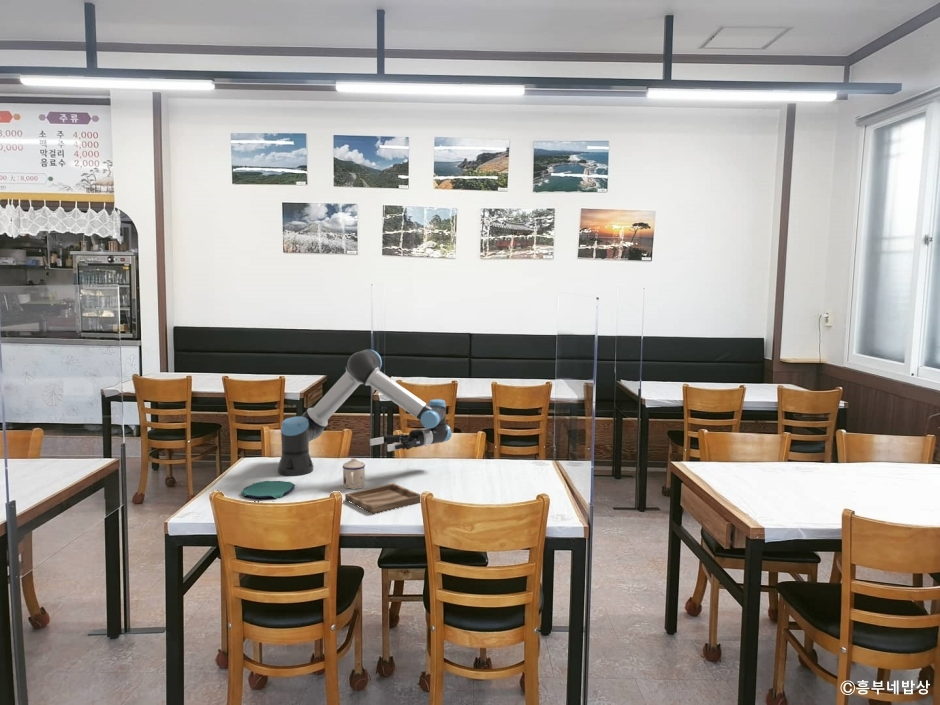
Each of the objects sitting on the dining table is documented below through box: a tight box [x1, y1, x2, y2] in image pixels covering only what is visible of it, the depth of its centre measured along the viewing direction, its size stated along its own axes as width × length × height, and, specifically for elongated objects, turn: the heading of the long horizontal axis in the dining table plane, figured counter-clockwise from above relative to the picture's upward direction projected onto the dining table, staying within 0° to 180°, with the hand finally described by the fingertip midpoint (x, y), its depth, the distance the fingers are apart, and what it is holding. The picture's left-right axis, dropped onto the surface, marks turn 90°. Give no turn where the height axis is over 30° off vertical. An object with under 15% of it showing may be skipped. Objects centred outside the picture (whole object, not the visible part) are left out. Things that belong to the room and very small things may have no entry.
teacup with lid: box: [342, 457, 366, 489], centre depth 262 cm, size 12×9×12 cm
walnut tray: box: [344, 483, 421, 515], centre depth 244 cm, size 20×22×2 cm
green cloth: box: [241, 480, 296, 503], centre depth 250 cm, size 20×30×2 cm, turn 172°
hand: (378, 445), depth 268 cm, fingers open, 13 cm apart
